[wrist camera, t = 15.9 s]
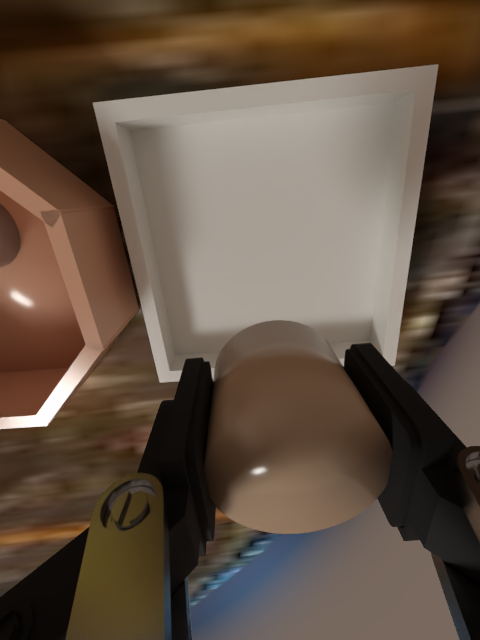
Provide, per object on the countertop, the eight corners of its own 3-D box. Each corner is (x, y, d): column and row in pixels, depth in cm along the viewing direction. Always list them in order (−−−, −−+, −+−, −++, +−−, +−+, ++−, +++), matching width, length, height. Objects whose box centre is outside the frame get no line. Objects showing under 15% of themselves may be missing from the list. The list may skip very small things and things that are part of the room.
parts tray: (114, 116, 15) (92, 102, 13) (407, 84, 15) (438, 64, 12) (168, 362, 21) (159, 382, 19) (377, 346, 21) (394, 365, 18)
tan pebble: (206, 326, 10) (189, 411, 6) (340, 314, 9) (406, 393, 6) (221, 427, 11) (215, 539, 8) (333, 417, 11) (381, 526, 8)
